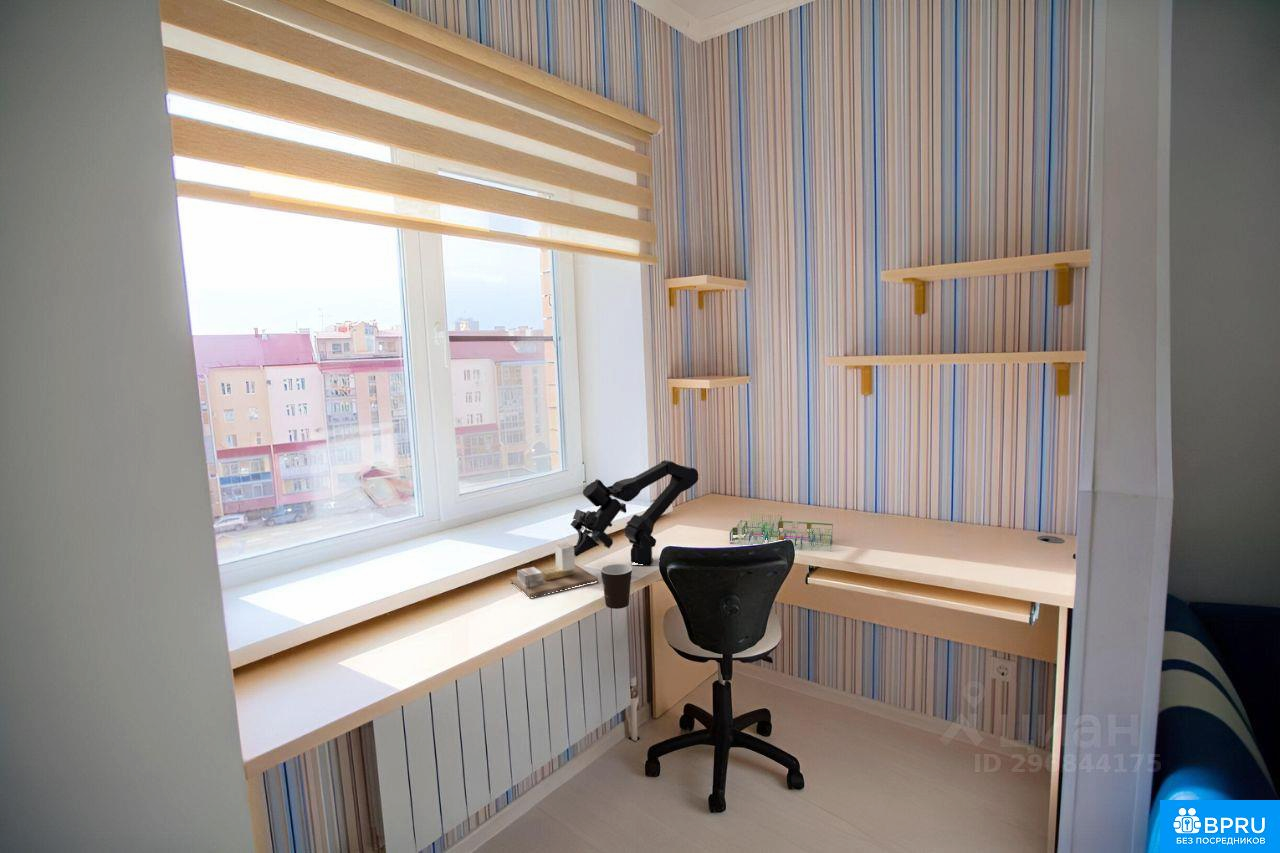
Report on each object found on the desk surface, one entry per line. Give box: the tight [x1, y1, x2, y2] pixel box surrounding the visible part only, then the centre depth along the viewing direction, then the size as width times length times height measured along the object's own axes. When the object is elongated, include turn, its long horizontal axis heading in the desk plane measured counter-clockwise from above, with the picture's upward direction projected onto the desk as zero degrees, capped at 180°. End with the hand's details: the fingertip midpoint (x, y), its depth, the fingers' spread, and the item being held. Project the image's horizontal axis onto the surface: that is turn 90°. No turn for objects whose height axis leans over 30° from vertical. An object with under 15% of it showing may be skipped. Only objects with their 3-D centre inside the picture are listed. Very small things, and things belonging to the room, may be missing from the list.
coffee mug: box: [600, 563, 633, 610], centre depth 176 cm, size 12×9×10 cm
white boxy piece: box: [541, 542, 576, 580], centre depth 193 cm, size 9×5×9 cm, turn 122°
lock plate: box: [509, 564, 599, 599], centre depth 193 cm, size 22×16×5 cm
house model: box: [729, 513, 834, 547], centre depth 237 cm, size 35×30×5 cm
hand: (574, 555), depth 196 cm, fingers closed
